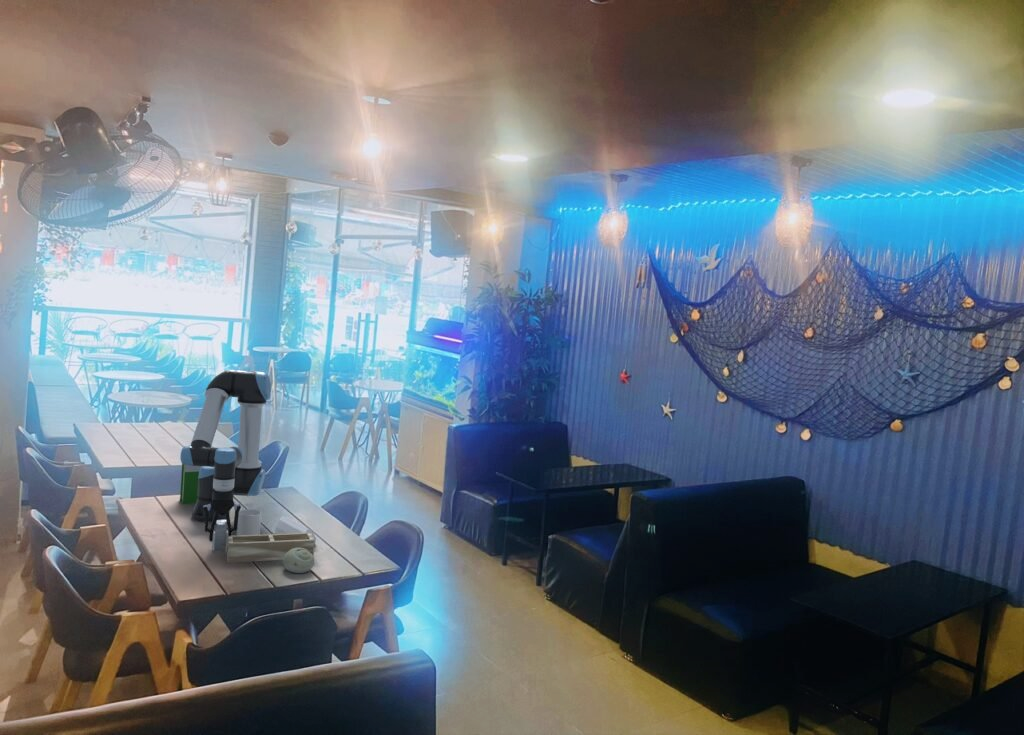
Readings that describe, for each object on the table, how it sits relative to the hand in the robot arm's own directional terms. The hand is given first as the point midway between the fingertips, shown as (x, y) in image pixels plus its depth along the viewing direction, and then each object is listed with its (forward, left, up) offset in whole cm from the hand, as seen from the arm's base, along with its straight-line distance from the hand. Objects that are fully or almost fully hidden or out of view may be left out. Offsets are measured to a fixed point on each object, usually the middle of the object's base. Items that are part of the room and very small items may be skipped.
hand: (219, 548), depth 277 cm
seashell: (+25, +25, -1) cm, 35 cm away
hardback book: (-67, -5, -1) cm, 67 cm away
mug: (-12, +11, -1) cm, 16 cm away
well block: (+10, +18, 0) cm, 20 cm away
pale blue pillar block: (0, 0, 0) cm, 0 cm away
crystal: (-9, +29, -1) cm, 30 cm away
